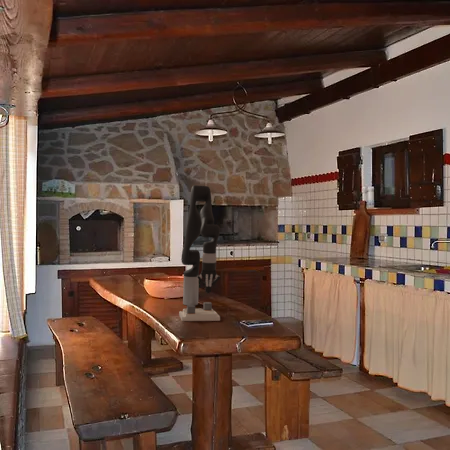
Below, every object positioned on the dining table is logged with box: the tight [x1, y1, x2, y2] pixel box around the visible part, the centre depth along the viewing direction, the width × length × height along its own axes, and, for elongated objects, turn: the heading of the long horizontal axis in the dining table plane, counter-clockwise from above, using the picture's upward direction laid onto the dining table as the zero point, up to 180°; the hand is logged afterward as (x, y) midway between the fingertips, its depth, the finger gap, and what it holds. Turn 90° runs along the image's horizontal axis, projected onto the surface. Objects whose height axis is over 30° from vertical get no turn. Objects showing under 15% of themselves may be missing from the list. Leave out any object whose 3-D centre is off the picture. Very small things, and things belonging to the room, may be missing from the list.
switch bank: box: [178, 308, 221, 322], centre depth 293 cm, size 16×20×4 cm
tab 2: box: [202, 301, 213, 310], centre depth 299 cm, size 4×4×5 cm
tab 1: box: [186, 305, 196, 314], centre depth 288 cm, size 4×4×5 cm
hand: (208, 293), depth 297 cm, fingers closed
